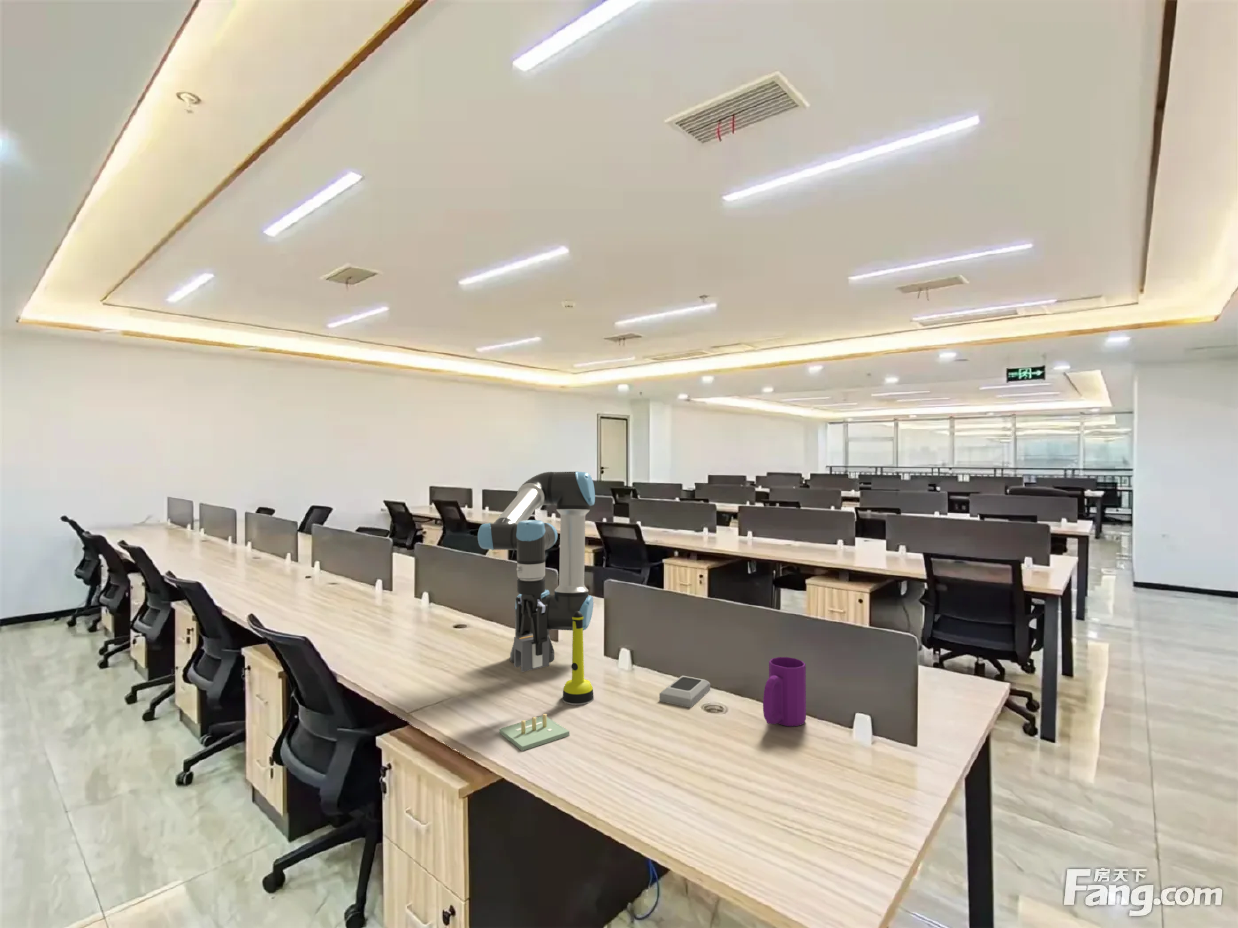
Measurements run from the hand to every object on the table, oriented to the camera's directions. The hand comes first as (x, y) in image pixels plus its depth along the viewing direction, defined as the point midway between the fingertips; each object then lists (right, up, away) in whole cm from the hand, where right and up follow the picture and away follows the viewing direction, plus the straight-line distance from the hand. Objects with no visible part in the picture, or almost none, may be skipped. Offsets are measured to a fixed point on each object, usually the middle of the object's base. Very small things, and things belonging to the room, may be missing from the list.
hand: (531, 663), depth 160 cm
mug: (+65, -13, -8) cm, 67 cm away
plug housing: (0, -1, 0) cm, 1 cm away
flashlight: (+12, -13, +9) cm, 20 cm away
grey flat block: (+43, -13, +11) cm, 46 cm away
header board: (+3, -13, -14) cm, 19 cm away
